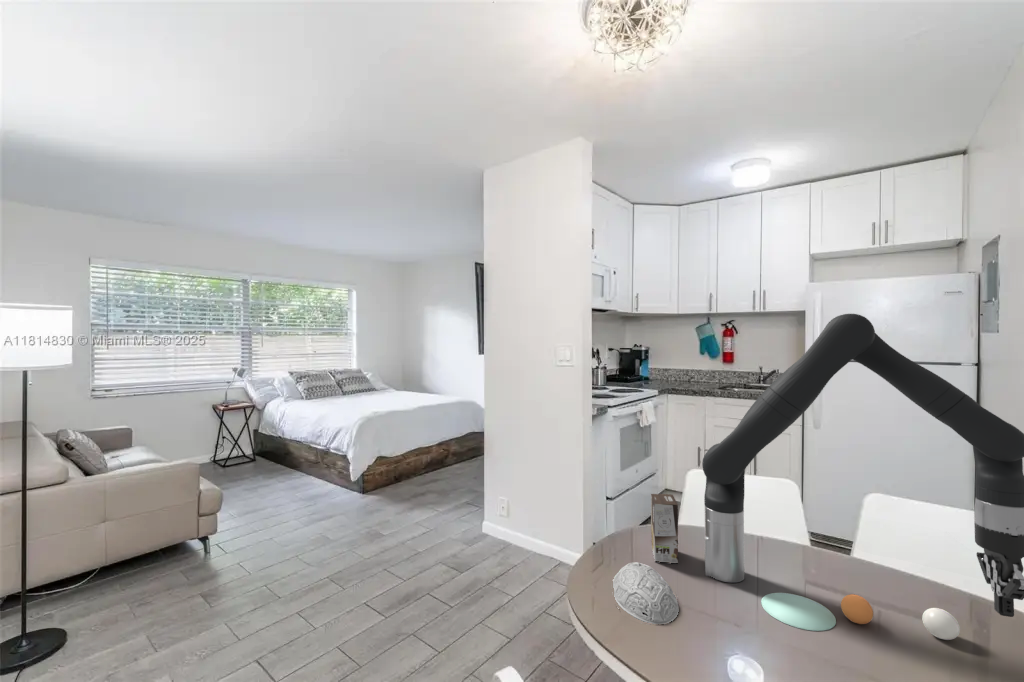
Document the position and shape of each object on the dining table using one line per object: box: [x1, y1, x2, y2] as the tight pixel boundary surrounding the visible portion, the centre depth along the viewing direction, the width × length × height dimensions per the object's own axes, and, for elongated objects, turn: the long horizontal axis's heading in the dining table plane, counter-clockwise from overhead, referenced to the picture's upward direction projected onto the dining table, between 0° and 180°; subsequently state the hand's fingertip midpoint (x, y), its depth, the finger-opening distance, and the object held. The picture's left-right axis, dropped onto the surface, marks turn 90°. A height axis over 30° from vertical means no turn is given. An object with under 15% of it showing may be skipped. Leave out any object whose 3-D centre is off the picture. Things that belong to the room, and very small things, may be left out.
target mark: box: [760, 592, 837, 632], centre depth 101 cm, size 14×14×1 cm
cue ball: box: [921, 607, 961, 641], centre depth 92 cm, size 6×6×6 cm
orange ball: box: [840, 594, 874, 625], centre depth 97 cm, size 6×6×6 cm
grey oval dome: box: [612, 561, 680, 625], centre depth 108 cm, size 16×25×7 cm, turn 176°
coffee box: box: [650, 493, 679, 564], centre depth 128 cm, size 9×6×16 cm
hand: (1004, 614), depth 88 cm, fingers closed
